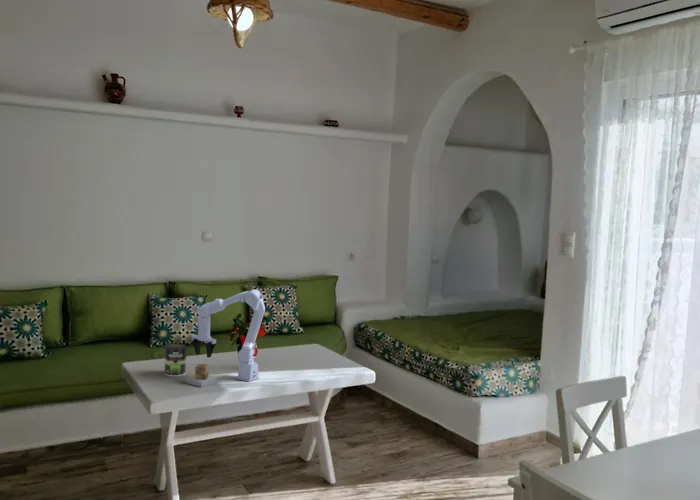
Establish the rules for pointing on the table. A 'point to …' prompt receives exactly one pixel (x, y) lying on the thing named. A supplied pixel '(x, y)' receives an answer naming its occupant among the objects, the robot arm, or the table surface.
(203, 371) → the walnut block
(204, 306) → the robot arm
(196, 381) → the pedestal
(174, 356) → the coffee can
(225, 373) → the table surface
